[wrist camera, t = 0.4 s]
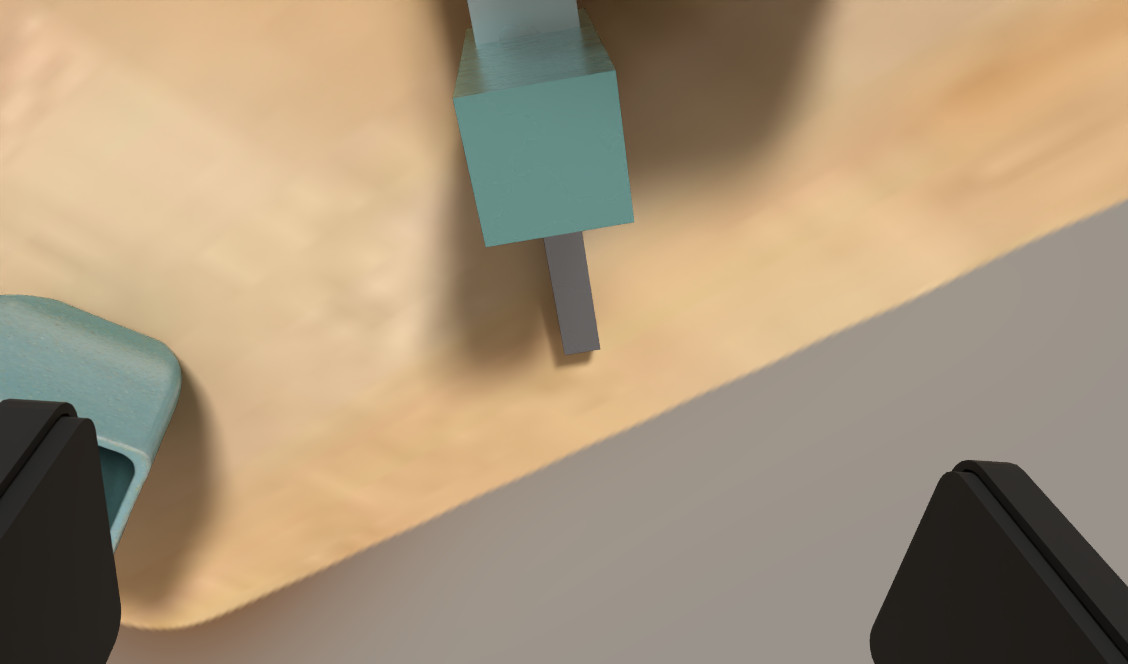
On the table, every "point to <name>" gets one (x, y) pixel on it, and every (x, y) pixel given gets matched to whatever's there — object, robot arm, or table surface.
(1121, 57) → the table surface
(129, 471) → the flower pot
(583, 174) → the sled
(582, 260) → the rail
